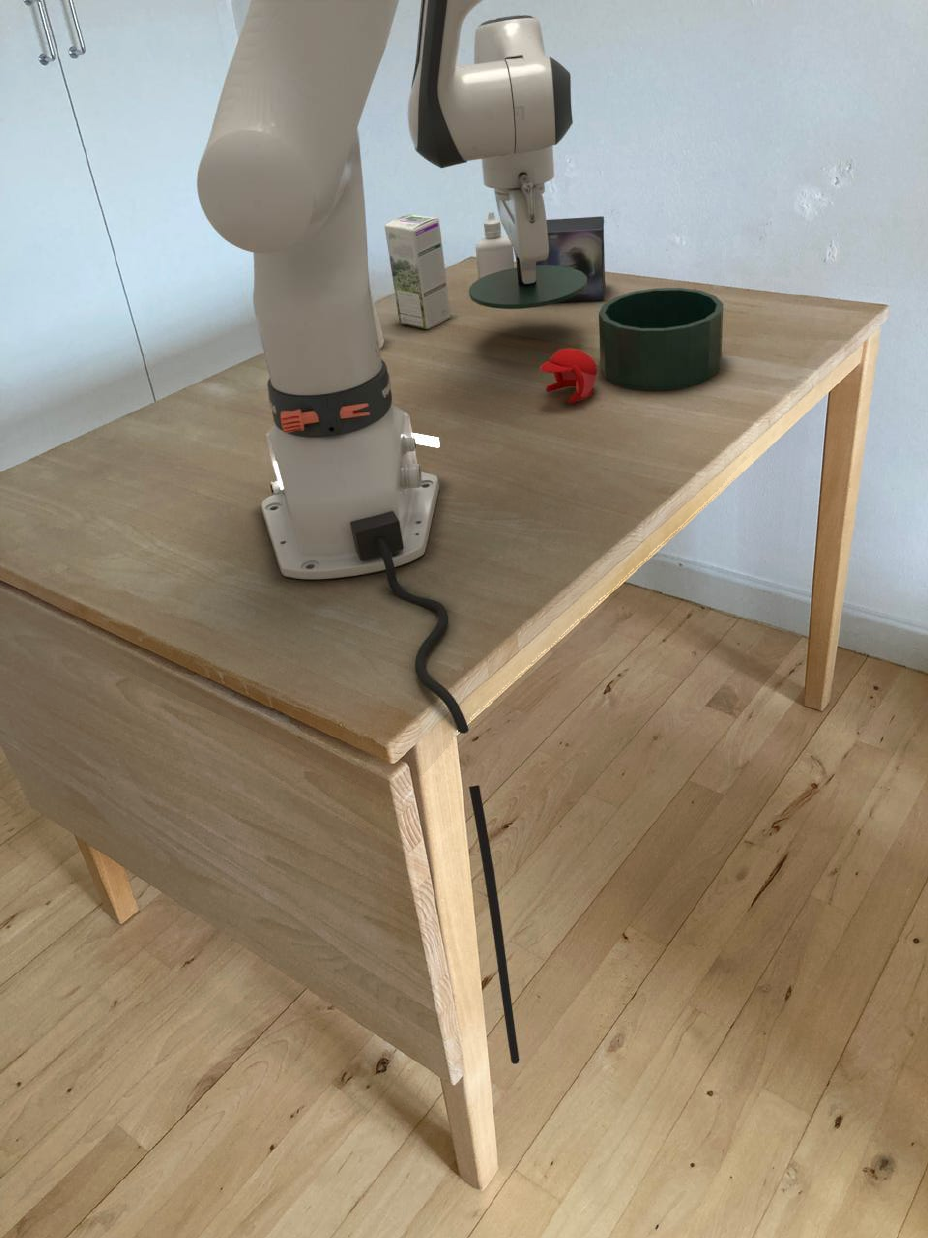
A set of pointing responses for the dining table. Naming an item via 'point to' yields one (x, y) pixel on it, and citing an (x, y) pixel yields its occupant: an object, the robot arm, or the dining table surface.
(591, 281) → the small box
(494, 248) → the eye dropper bottle
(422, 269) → the syrup box
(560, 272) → the lid
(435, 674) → the dining table surface
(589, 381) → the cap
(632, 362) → the pot
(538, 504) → the dining table surface
